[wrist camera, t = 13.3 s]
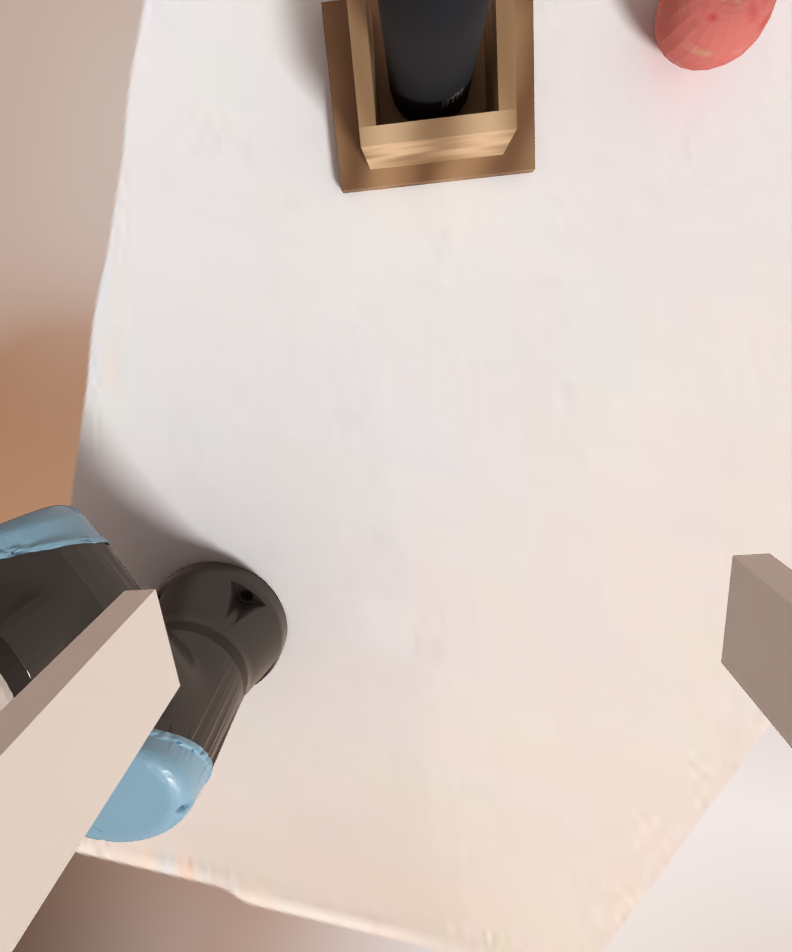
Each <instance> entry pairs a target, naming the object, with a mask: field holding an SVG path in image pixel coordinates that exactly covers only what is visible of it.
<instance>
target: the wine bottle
mask: <svg viewBox="0 0 792 952" xmlns="http://www.w3.org/2000/svg"><path fill="white" fill-rule="evenodd" d="M489 3H490V0H378V7H379V14H380V21H381V28H382V35H383V42H384V49H385V56H386V64H387V71H388V78H389V85H390V91H391V94H392V97H393V100H394V104H395V106H396V107H397V108H398V110H399V111H400V113H401V114H402V116H403V117H405V118H406V119H408V120H409V121H418V120H427V119H435V118H443V117H451V116H456V115H457V114H458V113H459V112H460V110H461V109H462V107H463V105H464V104H465V102H466V100H467V97H468V94H469V90H470V86H471V82H472V78H473V73H474V69H475V65H476V60H477V56H478V51H479V47H480V43H481V38H482V34H483V30H484V25H485V21H486V17H487V12H488V8H489Z"/></svg>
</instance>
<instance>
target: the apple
mask: <svg viewBox="0 0 792 952" xmlns="http://www.w3.org/2000/svg"><path fill="white" fill-rule="evenodd" d="M775 3H776V0H660V1H659V4H658V7H657V12H656V16H655V36H656V40H657V43H658V46H659V48H660V50H661V51H662V53H663V55H664V56H665V57H666V58H667V59H668V60H670V61H671V62H672V63H674V64H676V65H677V66H679V67H681V68H685V69H689V70H709V69H712V68H715V67H719V66H722V65H725V64H727V63H729V62H730V61H732V60H734V59H736V58H738V57H739V56H741V55H742V54H743V53H744V52H745V51H746V50H747V49H748V48H749V47H750V46H751V45H752V44H753V43H754V42H755V41H756V40H757V38H758V37H759V36H760V34H761V32H762V31H763V29H764V27H765V26H766V24H767V22H768V20H769V19H770V16H771V14H772V11H773V9H774V6H775Z"/></svg>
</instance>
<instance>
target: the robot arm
mask: <svg viewBox="0 0 792 952" xmlns="http://www.w3.org/2000/svg"><path fill="white" fill-rule="evenodd" d="M109 545H110V542H109V541H108V540H107V539H106V538H104V537H102V536H101V535H100V534H99V533H98V532H97V530H96V529H95V528H94V527H93V525H92V524H91V523H90V522H89V521H88V519H87V518H86V517H85V516H84V515H83V513H82V512H80V511H79V510H77V509H76V508H73V507H70V506H66V505H56V506H50V507H46V508H43V509H40V510H37V511H34V512H31V513H28V514H25V515H22V516H20V517H17V518H15V519H12V520H9V521H7V522H4V523H2V524H0V952H12V951H13V949H14V948H15V946H16V944H17V943H18V941H19V940H20V938H21V936H22V935H23V933H24V932H25V930H26V929H27V927H28V925H29V924H30V922H31V921H32V919H33V918H34V916H35V914H36V913H37V911H38V910H39V908H40V906H41V905H42V903H43V902H44V900H45V898H46V897H47V895H48V894H49V892H50V891H51V889H52V888H53V886H54V884H55V883H56V881H57V880H58V878H59V876H60V875H61V873H62V872H63V870H64V869H65V867H66V865H67V864H68V862H69V861H70V859H71V858H72V856H73V854H74V853H75V851H76V850H77V848H78V846H79V845H80V843H81V842H82V840H83V839H84V837H88V838H91V839H96V840H106V841H111V842H132V841H139V840H144V839H148V838H151V837H154V836H157V835H159V834H162V833H164V832H166V831H168V830H169V829H171V828H172V827H174V826H175V825H177V824H178V823H179V822H180V821H181V820H182V819H183V818H184V817H185V816H186V815H187V814H188V812H189V811H190V809H191V808H192V806H193V804H194V802H195V800H196V799H197V797H198V795H199V793H200V791H201V790H202V788H203V786H204V785H205V784H206V783H207V781H208V780H209V778H210V776H211V772H212V768H213V766H214V763H215V761H216V759H217V756H218V754H219V752H220V750H221V747H222V745H223V743H224V740H225V738H226V736H227V734H228V731H229V729H230V727H231V724H232V722H233V720H234V718H235V715H236V713H237V711H238V708H239V706H240V704H241V702H242V700H243V697H244V696H245V695H246V694H247V693H248V692H249V690H250V689H251V688H252V687H253V686H254V685H255V684H257V683H258V682H260V681H261V680H262V679H263V678H265V677H266V676H267V675H268V674H269V673H270V672H271V670H272V669H273V668H274V666H275V665H276V663H277V661H278V659H279V657H280V654H281V652H282V650H283V647H284V644H285V641H286V637H287V621H286V616H285V612H284V609H283V607H282V605H281V603H280V601H279V599H278V597H277V596H276V594H275V593H274V592H273V591H272V589H271V588H270V587H269V586H268V585H267V584H266V583H265V582H263V581H262V580H261V579H260V578H258V577H257V576H256V575H254V574H252V573H251V572H249V571H247V570H245V569H242V568H240V567H237V566H234V565H230V564H226V563H219V562H203V563H197V564H193V565H190V566H187V567H184V568H182V569H180V570H178V571H177V572H175V573H174V574H172V575H171V576H170V577H169V578H168V579H167V580H166V581H165V582H164V583H163V584H162V585H161V586H160V588H159V589H158V590H157V591H156V589H146V590H141V589H140V588H139V586H138V585H137V584H136V582H135V581H134V580H133V578H132V577H131V575H130V574H129V573H128V571H127V570H126V569H125V567H124V566H123V565H122V563H121V562H120V561H119V559H118V558H117V557H116V555H115V554H114V553H113V551H112V550H111V549H110V547H109ZM721 662H722V664H723V665H724V666H725V667H726V669H727V670H728V671H729V672H730V673H731V675H732V676H733V677H734V678H735V679H736V681H737V682H738V683H739V684H740V686H741V687H742V688H743V689H744V690H745V692H746V693H747V694H748V695H749V697H750V698H751V699H752V700H753V701H754V703H755V704H756V705H757V706H758V708H759V709H760V710H761V711H762V712H763V714H764V715H765V716H766V717H767V719H768V720H769V721H770V722H771V723H772V725H773V726H774V727H775V728H776V730H777V731H778V732H779V733H780V734H781V736H782V737H783V738H784V739H785V740H786V742H787V743H788V744H789V745H790V747H791V748H792V570H791V569H790V568H788V567H787V566H786V565H784V564H783V563H782V562H780V561H779V560H778V559H776V558H775V557H774V556H772V555H771V554H752V555H735V556H733V558H732V567H731V577H730V586H729V595H728V604H727V614H726V623H725V632H724V641H723V651H722V660H721Z"/></svg>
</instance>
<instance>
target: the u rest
mask: <svg viewBox="0 0 792 952" xmlns="http://www.w3.org/2000/svg"><path fill="white" fill-rule="evenodd" d="M321 4H322V13H323V22H324V32H325V41H326V50H327V59H328V68H329V77H330V86H331V96H332V105H333V114H334V123H335V132H336V141H337V151H338V160H339V169H340V178H341V187H342V191H343V193H350V192H359V191H368V190H377V189H386V188H395V187H404V186H412V185H421V184H430V183H439V182H448V181H457V180H466V179H475V178H484V177H493V176H502V175H511V174H520V173H529V172H533V171H534V169H535V128H534V40H533V0H490V3H489V8H488V12H487V17H486V21H485V25H484V30H483V34H482V38H481V43H480V47H479V51H478V56H477V60H476V65H475V69H474V73H473V78H472V82H471V86H470V90H469V94H468V97H467V100H466V102H465V104H464V105H463V107H462V109H461V110H460V112H459V113H458V114H457V115H456V116H451V117H443V118H435V119H427V120H418V121H409V120H408V119H406V118H405V117H403V116H402V114H401V113H400V111H399V110H398V108H397V107H396V106H395V104H394V100H393V97H392V94H391V91H390V85H389V78H388V71H387V64H386V56H385V49H384V42H383V35H382V28H381V21H380V14H379V7H378V0H337V1H330V2H322V3H321Z"/></svg>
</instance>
